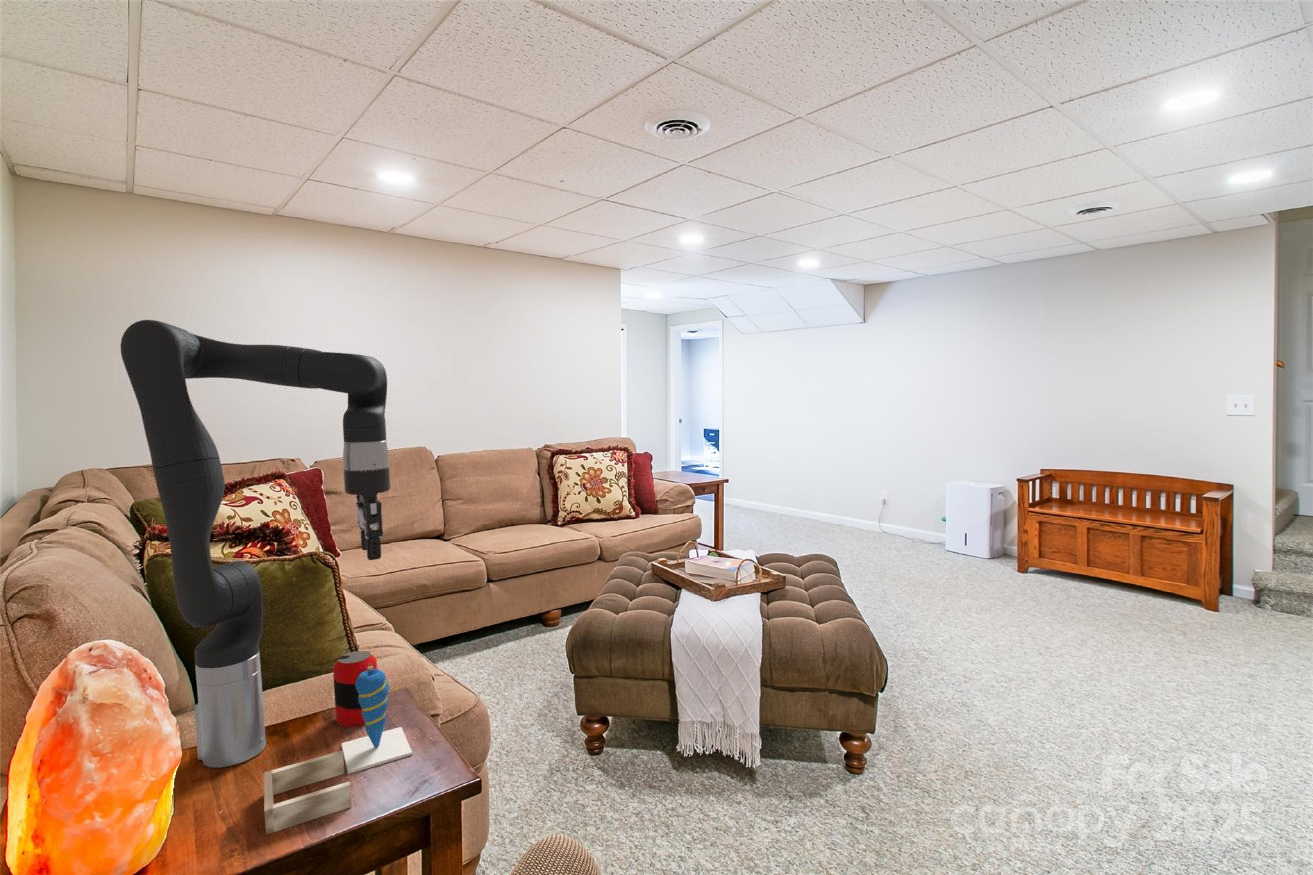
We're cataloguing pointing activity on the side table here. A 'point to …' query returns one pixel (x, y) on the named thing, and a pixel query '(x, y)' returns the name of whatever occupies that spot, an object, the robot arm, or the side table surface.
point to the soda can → (350, 686)
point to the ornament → (373, 701)
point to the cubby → (310, 803)
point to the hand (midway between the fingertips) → (371, 554)
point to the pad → (375, 750)
